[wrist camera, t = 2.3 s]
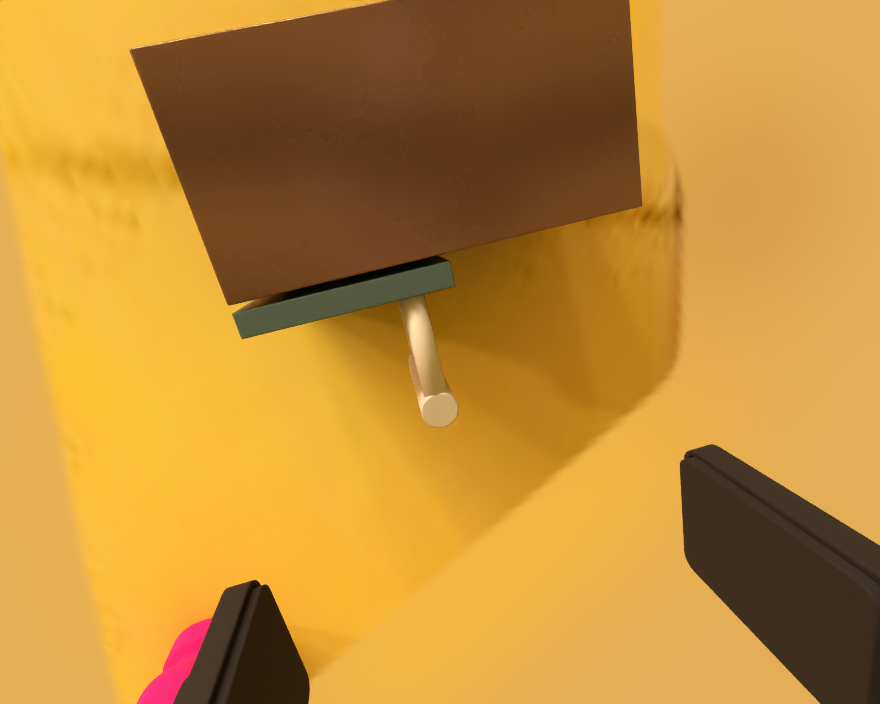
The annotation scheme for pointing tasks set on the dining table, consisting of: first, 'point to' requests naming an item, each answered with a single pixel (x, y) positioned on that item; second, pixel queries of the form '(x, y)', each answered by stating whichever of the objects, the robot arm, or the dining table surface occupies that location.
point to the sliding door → (367, 292)
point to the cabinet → (395, 132)
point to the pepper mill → (176, 666)
